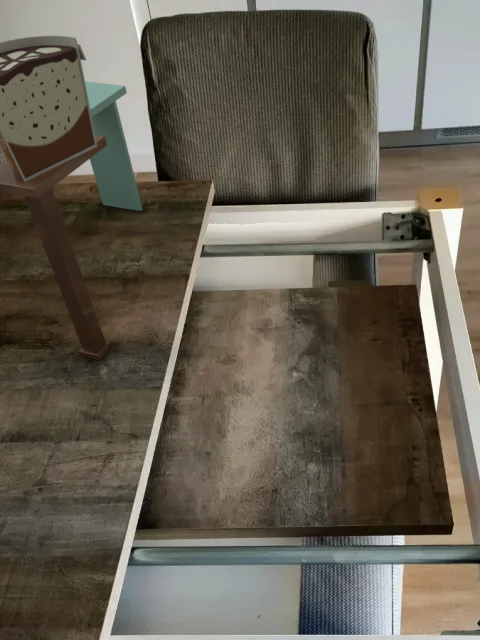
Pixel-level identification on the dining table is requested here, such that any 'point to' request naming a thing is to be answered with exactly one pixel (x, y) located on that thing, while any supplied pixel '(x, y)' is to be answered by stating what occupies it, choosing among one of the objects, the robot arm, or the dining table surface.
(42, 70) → the food container
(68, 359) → the dining table surface
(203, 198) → the dining table surface
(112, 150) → the teal plank stand
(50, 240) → the side stand
